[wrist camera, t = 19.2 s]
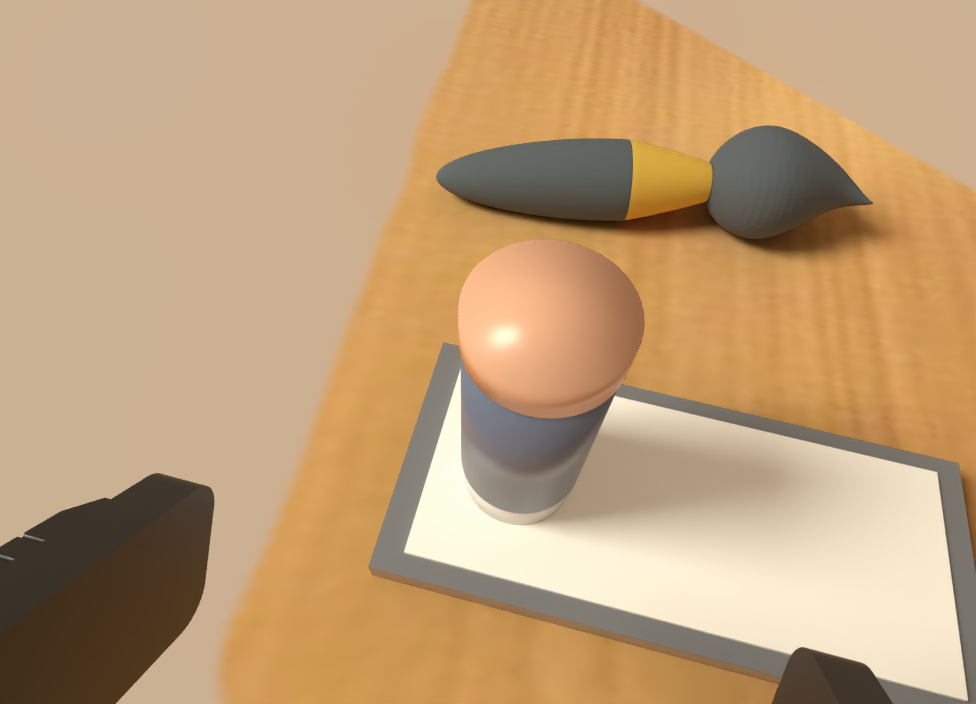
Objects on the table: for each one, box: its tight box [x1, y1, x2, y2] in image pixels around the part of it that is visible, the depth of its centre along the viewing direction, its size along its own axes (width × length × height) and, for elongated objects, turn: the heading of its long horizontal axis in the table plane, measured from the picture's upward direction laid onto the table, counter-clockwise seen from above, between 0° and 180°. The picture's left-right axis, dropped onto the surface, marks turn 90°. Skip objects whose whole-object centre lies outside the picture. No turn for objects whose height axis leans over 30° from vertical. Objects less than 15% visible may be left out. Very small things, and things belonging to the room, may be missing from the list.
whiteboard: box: [369, 342, 976, 704], centre depth 23 cm, size 20×9×1 cm, turn 76°
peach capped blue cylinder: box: [458, 239, 644, 525], centre depth 18 cm, size 4×4×10 cm
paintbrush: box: [436, 126, 873, 239], centre depth 29 cm, size 20×5×5 cm, turn 91°
